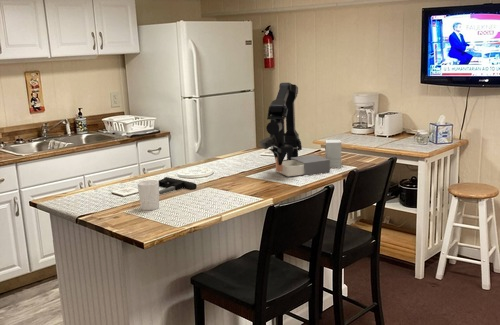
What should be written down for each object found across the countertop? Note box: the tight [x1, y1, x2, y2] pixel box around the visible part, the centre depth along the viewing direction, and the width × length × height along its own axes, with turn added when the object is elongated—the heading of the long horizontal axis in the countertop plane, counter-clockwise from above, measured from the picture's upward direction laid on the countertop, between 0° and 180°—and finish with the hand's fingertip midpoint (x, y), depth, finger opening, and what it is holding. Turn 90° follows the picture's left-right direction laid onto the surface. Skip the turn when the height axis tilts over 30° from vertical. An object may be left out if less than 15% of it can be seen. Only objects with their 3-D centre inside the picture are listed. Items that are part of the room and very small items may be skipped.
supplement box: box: [324, 139, 342, 169], centre depth 253 cm, size 7×7×13 cm
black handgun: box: [158, 176, 197, 195], centre depth 223 cm, size 3×20×16 cm
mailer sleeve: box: [291, 154, 331, 176], centre depth 245 cm, size 14×13×6 cm
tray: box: [275, 157, 305, 177], centre depth 241 cm, size 12×15×8 cm
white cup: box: [137, 179, 160, 211], centre depth 196 cm, size 8×8×10 cm
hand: (279, 164), depth 239 cm, fingers closed on tray, 2 cm apart
